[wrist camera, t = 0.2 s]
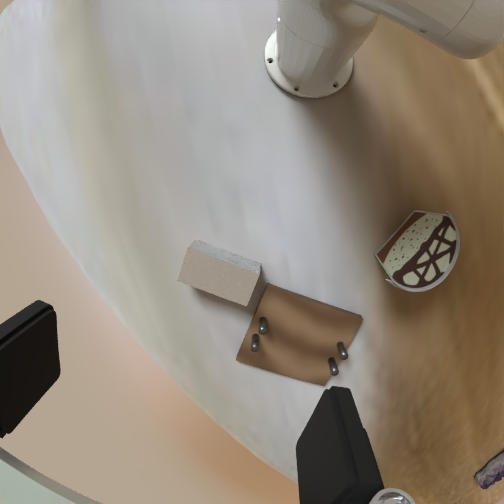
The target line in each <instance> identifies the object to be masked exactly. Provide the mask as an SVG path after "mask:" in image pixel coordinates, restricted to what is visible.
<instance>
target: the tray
mask: <svg viewBox="0 0 504 504" xmlns="http://www.w3.org/2000/svg"><path fill="white" fill-rule="evenodd" d="M260 317H266V318H267V333H266V334H265V335H261V334H259V332H258V330H259V319H260ZM362 320H363V318H362V316H361V315H358V314H355V313H352V312H349V311H346V310H343V309H340V308H337V307H334V306H331V305H329V304H326V303H323V302H320V301H317V300H314V299H311V298H308V297H306V296H303V295H300V294H297V293H294V292H291V291H288V290H286V289H283V288H280V287H277V286H274V285H272V284H269V283H267V285H266V288H265V290H264V293H263V295H262V297H261V300H260V302H259V305H258V307H257V309H256V312H255V314H254V317H253V319H252V321H251V324H250V326H249V328H248V331H247V333H246V336H245V338H244V340H243V343H242V345H241V347H240V350H239V352H238V354H237V357H236V360H237V361H240V362H243V363H246V364H249V365H252V366H255V367H259V368H262V369H265V370H268V371H272V372H275V373H279V374H282V375H285V376H289V377H293V378H296V379H300V380H303V381H307V382H311V383H315V384H319V385H323V386H324V385H325V384H326V382H327V380H328V379H329V377H330V376H331V371H330V367H329V364H328V359H329V358H330V357H333V358H335V361H336V365H337V364H338V362H339V361H340V359H341V357H340V354H339V351H338V348H337V343H338V342H343V343H344V346H345V348H346V349H347V347H348V345H349V343H350V342H351V340H352V338H353V336H354V335H355V333H356V331H357V329H358V327H359V325H360V324H361V322H362ZM253 334H258V335H259V336H260V339H259V350H258V352H252V351H251V340H252V335H253Z"/></svg>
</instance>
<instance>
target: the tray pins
mask: <svg viewBox="0 0 504 504" xmlns="http://www.w3.org/2000/svg"><path fill="white" fill-rule="evenodd" d="M258 332H259V334H261V335H265V334H266V333H267V318H266V317H260V319H259V330H258ZM259 339H260V336H259V335H258V334H253V335H252V340H251V351H252V352H258V350H259ZM337 348H338V351H339V354H340V357H341V359H342V360H345V359H347V358H348V353H347V351H346V348H345V346H344V343H343V342H338V343H337ZM328 364H329V367H330V371H331V374H332V375H334V376H335V375H337V374H338V373H339V371H338V368H337V365H336V361H335V358H333V357H330V358H329V359H328Z"/></svg>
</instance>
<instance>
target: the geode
mask: <svg viewBox="0 0 504 504" xmlns="http://www.w3.org/2000/svg"><path fill="white" fill-rule="evenodd" d="M502 476H503V477H504V451H503V452H502V453H500V454H498V455H497V456H496V457H495V458H493V459H491V460H490V461H489V462H488V463H487V465H486V466H485V467H484V468H483V469H482V470H481V471H479V472H476V474H475V475H474V478H475V480H476V481H477V484H479V485H480V487H481V488H482V489H487V488H488V487H489V486H490V485H494V484H495V482H497V481H500V480H502V478H501V477H502Z"/></svg>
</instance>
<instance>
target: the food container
mask: <svg viewBox="0 0 504 504" xmlns="http://www.w3.org/2000/svg"><path fill="white" fill-rule="evenodd" d="M446 213H447V214H448V215H447V214H440V213H433V212H426V211H418V210H414V211H413V212H412V213H411V214H410V216H409V217H408V218H407V219H406V220H405V221H404V222H403V224H402V225H401V226H400V227H399V228H398V229H397V230H396V231H395V233H394V234H393V235H392V236H391V237H390V238H389V239H388V240H387V241H386V242H385V244H384V245H383V246H382V247H381V248H380V249H379V250H378V251H377V252H376V253H375V254H374V255H375V256H376V258H377V259H378V261H379V262H380V263H381V265H382V266H383V268H384V269H385V271H386V272H387V274H388V275H389V277H390V278H391V279H392V280H388V279H386V281H388V282H389V283H390V284H391V285H393V286H395V287H397V288H399V289H402V290H405V291H409V292H421V291H426V290H429V289H431V288H433V287H435V286H437V285H438V284H440V283H441V282H442V281H443V280H444V279H445V278H446V277H447V276H448V274H449V273H450V272H451V270H452V268H453V267H454V265H455V262H456V260H457V257H458V253H459V247H460V238H459V231H458V227H457V224H456V222H455V220H454V218H453V216H452V215H451V213H449V212H448V211H447V210H446Z"/></svg>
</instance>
